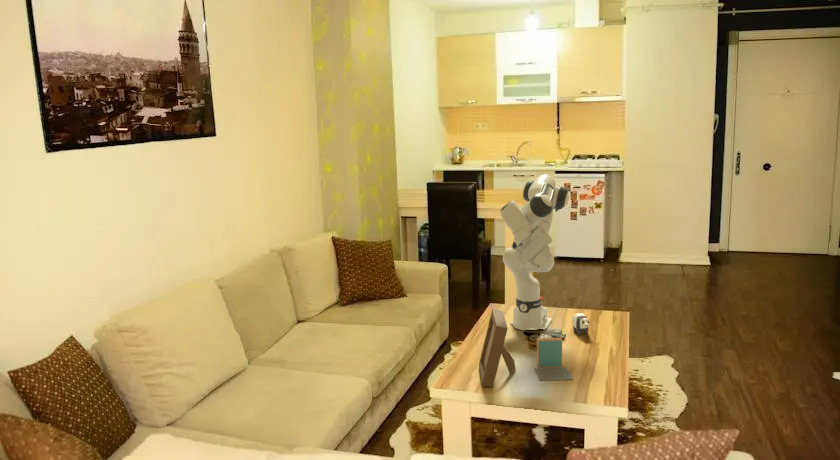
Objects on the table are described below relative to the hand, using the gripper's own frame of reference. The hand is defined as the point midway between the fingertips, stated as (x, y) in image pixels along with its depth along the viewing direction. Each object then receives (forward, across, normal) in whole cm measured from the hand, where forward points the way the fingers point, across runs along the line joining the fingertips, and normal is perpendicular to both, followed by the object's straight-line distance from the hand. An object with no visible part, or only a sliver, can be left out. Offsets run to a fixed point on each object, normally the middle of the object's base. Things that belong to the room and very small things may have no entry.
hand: (544, 263), depth 286 cm
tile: (+36, +21, +10) cm, 43 cm away
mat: (+40, +15, +15) cm, 45 cm away
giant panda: (+30, +38, -31) cm, 58 cm away
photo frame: (+30, +24, +33) cm, 50 cm away
